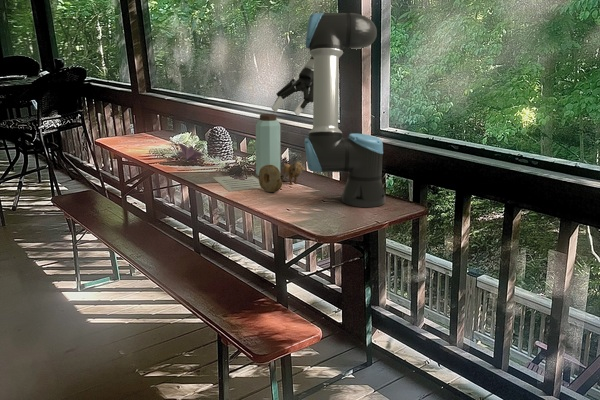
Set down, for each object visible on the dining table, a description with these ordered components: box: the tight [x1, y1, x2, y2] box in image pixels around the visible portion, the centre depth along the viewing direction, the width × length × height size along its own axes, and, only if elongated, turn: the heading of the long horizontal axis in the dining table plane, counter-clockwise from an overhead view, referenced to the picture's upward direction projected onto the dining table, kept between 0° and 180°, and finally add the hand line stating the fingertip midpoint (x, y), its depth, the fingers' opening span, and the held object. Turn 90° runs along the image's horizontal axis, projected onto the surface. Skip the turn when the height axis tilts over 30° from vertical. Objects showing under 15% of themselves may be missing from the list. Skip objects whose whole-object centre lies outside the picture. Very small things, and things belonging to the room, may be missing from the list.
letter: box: [212, 174, 262, 192], centre depth 225 cm, size 22×16×1 cm
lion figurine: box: [280, 161, 306, 186], centre depth 225 cm, size 15×5×9 cm, turn 35°
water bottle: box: [255, 113, 281, 177], centre depth 232 cm, size 10×10×25 cm
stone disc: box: [258, 165, 284, 193], centre depth 211 cm, size 10×4×10 cm, turn 46°
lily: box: [176, 142, 205, 167], centre depth 253 cm, size 12×12×10 cm
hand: (284, 112), depth 236 cm, fingers open, 13 cm apart
